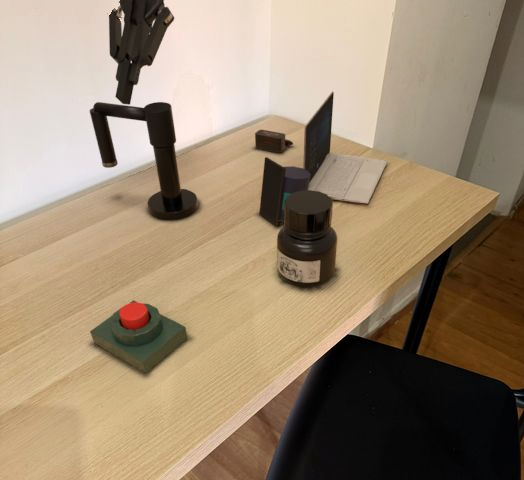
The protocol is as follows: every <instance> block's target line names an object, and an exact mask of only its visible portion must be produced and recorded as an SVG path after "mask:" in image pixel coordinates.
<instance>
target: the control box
mask: <svg viewBox="0 0 524 480" xmlns="http://www.w3.org/2000/svg"><path fill="white" fill-rule="evenodd" d="M134 302H137V301H136V300H134V299H133V300H132V301H130V302H129V303H134ZM141 303H142V304H144V305H145V306H146V307H147V310H148V315H149V322H148V324H147V325H146V326H144V327H143V328H139V329H136V330H130V329H126V328H125V327H123V325H122V322H121V319H120V315H119V312H120V309H121V308H122V307H120V308H119V309H117V310H116V311H115V312H113V313H112V315H111V316H109V317H107V318H106V319H105V320H104V321H102V322H101V323H100V324H98V325H97V326H95V327H94V328H92V329H91V330H90V331H89V333H90V335H91V338H92V341H93V344H95V345H97V346H99V347H100V348H102V349H103V350H104V351H106V352H109V353H110V354H112V355H114V356H115V357H117V358H118V359H121V360H122V361H124V362H125V363H127V364H129V365H130V366H133V367H134V368H135V369H138V370H139V371H141V372H142V373H144V374H148V372H149V371H151V370H152V369H153V368H154V367H156V365H158V364H159V363H160V362H162V361H163V360H164V359H165V358H166V357H168V356H169V355H170V354H171V353H172V352H173V351H175V350H176V349H177V348H178V347H179V346H180V345H181V344H183V343H184V342H186V340H188V333H187V327H186V326H185V325H183V324H181V323H179V322H177V321H176V320H173V319H171V318H169V317H167V316H166V315H163V314H161V313H160V311H159V309H158V308H157V307H156V306H154V305H152V304H149V303H145V302H144V303H143V302H141Z"/></svg>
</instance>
